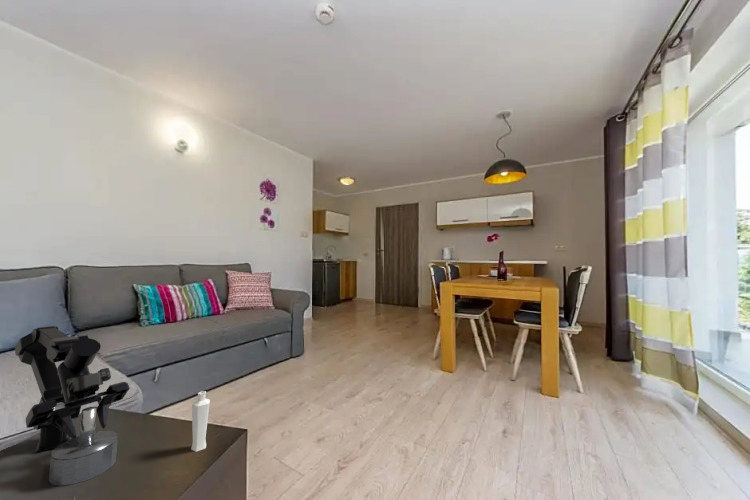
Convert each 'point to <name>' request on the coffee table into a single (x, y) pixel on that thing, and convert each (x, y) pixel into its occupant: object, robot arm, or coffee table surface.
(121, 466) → the coffee table surface
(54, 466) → the grey stemmed oval block
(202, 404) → the perfume bottle
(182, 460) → the coffee table surface
